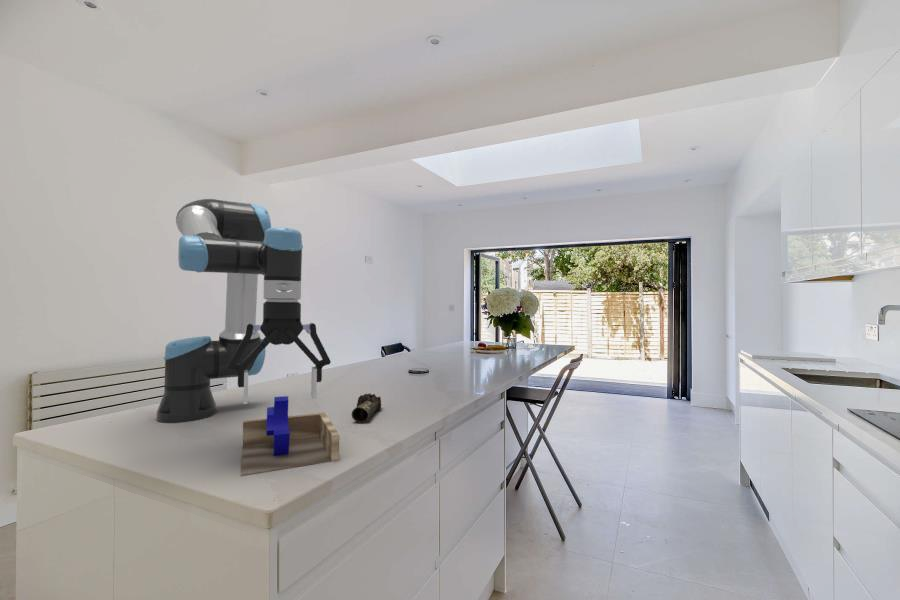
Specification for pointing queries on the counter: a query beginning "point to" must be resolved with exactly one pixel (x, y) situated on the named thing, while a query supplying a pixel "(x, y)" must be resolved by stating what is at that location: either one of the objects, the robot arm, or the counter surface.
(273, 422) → the cable clip
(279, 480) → the counter surface
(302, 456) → the corner board
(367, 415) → the metal pipe
